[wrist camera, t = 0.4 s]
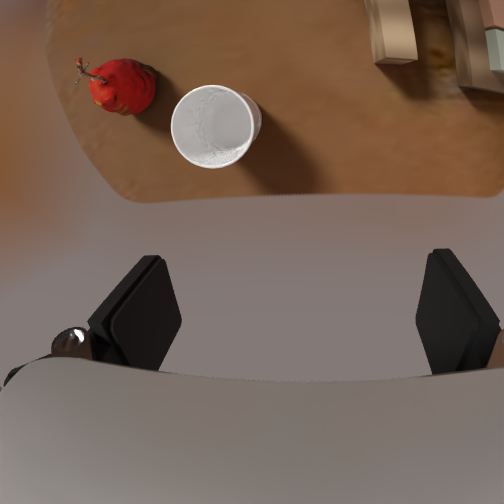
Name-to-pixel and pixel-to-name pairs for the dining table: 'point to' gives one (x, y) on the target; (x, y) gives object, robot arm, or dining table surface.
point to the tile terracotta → (492, 14)
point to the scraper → (391, 31)
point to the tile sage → (495, 49)
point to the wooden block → (472, 47)
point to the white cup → (215, 125)
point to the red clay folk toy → (121, 85)
